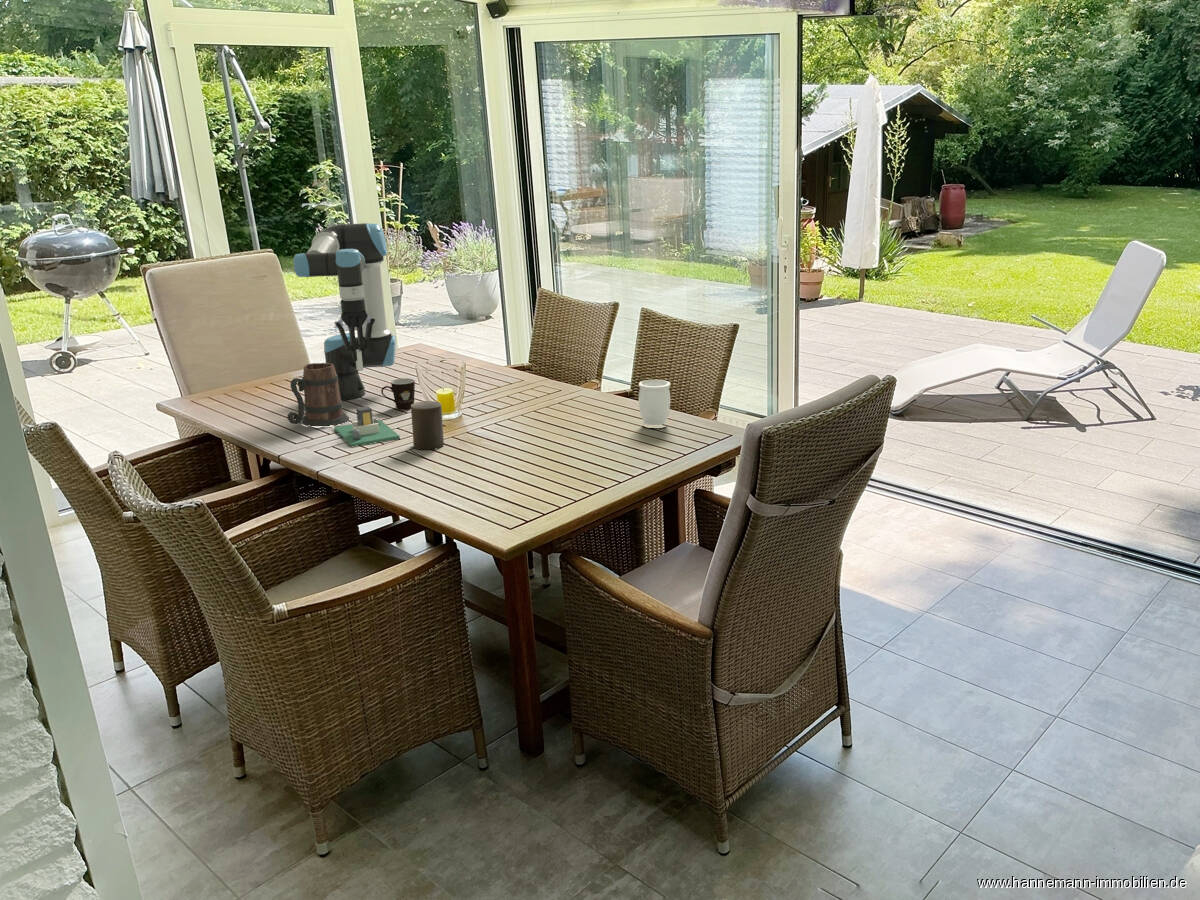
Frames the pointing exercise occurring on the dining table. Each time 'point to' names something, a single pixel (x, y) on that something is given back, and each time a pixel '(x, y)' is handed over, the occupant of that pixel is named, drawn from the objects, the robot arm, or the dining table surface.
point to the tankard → (318, 397)
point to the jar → (654, 401)
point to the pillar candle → (427, 425)
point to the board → (366, 433)
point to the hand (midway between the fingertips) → (359, 369)
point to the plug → (364, 416)
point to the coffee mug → (402, 392)
